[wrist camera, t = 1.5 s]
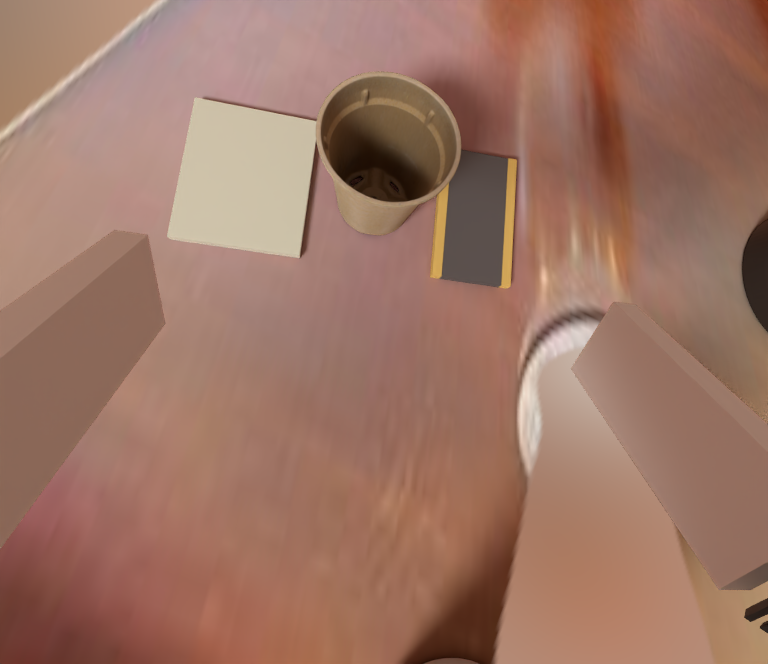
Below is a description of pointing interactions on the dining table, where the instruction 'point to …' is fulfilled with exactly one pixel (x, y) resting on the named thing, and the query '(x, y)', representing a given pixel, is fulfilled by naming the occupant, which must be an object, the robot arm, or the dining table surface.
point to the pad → (244, 179)
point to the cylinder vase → (451, 661)
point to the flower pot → (386, 148)
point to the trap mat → (476, 222)
